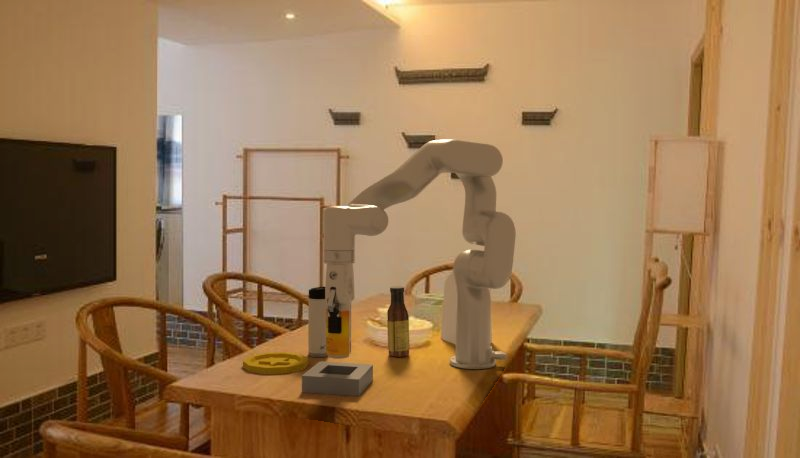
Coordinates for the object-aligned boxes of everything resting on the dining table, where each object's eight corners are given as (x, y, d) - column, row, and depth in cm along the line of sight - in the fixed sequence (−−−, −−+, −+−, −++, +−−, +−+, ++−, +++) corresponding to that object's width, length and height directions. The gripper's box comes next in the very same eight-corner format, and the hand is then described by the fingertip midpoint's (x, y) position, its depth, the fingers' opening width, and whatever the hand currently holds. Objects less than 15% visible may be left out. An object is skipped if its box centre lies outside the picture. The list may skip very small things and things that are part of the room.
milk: (472, 335, 239) (474, 256, 237) (491, 342, 229) (493, 260, 227) (440, 338, 234) (441, 257, 232) (458, 346, 223) (459, 261, 222)
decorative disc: (310, 373, 192) (310, 366, 192) (242, 376, 188) (242, 368, 188) (306, 358, 208) (306, 351, 208) (243, 360, 205) (243, 353, 205)
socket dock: (372, 380, 185) (373, 364, 184) (358, 396, 171) (359, 379, 171) (319, 376, 188) (319, 361, 187) (301, 392, 174) (301, 375, 174)
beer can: (326, 353, 182) (326, 293, 180) (350, 353, 182) (351, 293, 181) (325, 359, 175) (326, 297, 174) (351, 359, 176) (351, 297, 175)
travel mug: (327, 358, 207) (327, 288, 205) (305, 356, 208) (305, 287, 207) (334, 353, 213) (334, 285, 211) (312, 351, 214) (312, 284, 213)
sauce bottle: (412, 354, 212) (413, 286, 211) (403, 358, 207) (404, 289, 205) (392, 351, 215) (393, 284, 214) (383, 356, 210) (383, 287, 208)
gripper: (344, 261, 168) (343, 338, 169) (362, 253, 185) (362, 324, 186) (313, 260, 169) (312, 336, 171) (334, 252, 186) (334, 322, 188)
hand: (338, 329), depth 178 cm, fingers closed on beer can, 6 cm apart
